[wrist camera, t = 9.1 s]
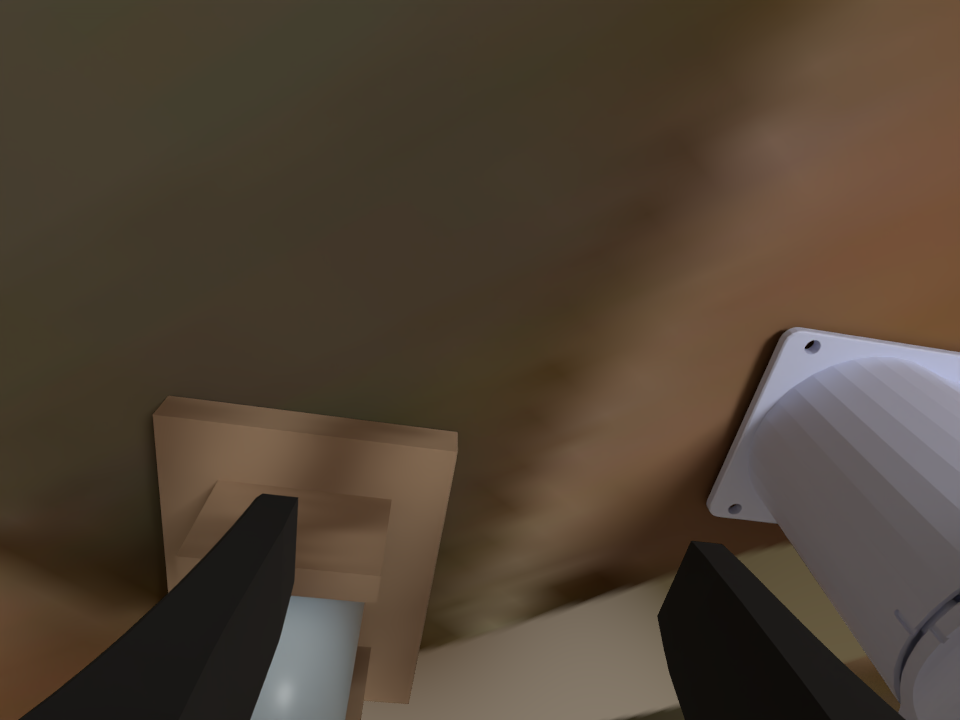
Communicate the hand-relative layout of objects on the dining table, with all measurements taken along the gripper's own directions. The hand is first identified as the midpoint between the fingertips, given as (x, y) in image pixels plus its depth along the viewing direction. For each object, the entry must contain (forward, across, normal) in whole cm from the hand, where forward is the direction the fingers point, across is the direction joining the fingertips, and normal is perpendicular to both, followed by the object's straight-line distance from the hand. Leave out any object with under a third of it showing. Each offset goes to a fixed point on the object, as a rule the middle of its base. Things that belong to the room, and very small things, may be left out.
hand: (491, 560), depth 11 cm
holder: (+10, +5, +11) cm, 16 cm away
